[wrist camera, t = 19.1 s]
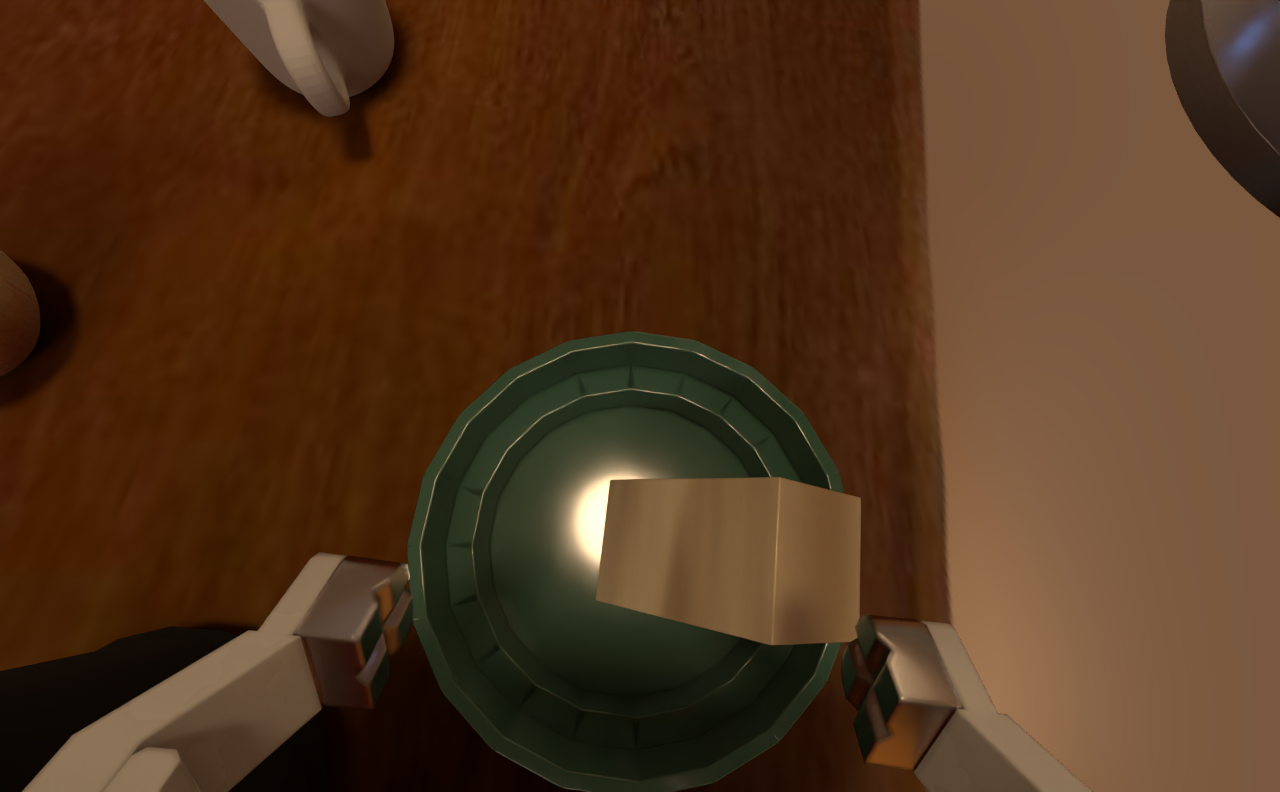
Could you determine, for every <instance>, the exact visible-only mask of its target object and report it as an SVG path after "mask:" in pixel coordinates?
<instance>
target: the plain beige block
mask: <svg viewBox="0 0 1280 792" xmlns="http://www.w3.org/2000/svg"><path fill="white" fill-rule="evenodd" d="M860 534H861V498H859V497H856V496H852V495H848V494H844V493H840V492H836V491H832V490H828V489H824V488H820V487H817V486H813V485H809V484H805V483H801V482H797V481H793V480H789V479H785V478H781V477H755V478H685V479H615V480H610V485H609V493H608V501H607V510H606V518H605V526H604V534H603V543H602V551H601V559H600V567H599V576H598V584H597V592H596V600H597V601H600V602H604V603H608V604H612V605H616V606H619V607H623V608H627V609H631V610H635V611H639V612H643V613H647V614H651V615H655V616H659V617H662V618H666V619H670V620H674V621H678V622H682V623H686V624H690V625H694V626H698V627H702V628H706V629H709V630H713V631H717V632H721V633H725V634H729V635H733V636H737V637H741V638H745V639H749V640H752V641H756V642H760V643H764V644H768V645H792V644H815V643H838V642H851V641H853V640H854V639H856V638H858V637H857V633H856V630H855V626H856V624H857V622H858V620H859V610H860Z"/></svg>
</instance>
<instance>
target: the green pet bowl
mask: <svg viewBox="0 0 1280 792" xmlns="http://www.w3.org/2000/svg"><path fill="white" fill-rule="evenodd" d="M424 475H425V476H423V479H422V484H421V488H420V492H419V496H418V501H417V505H416V509H415V513H414V517H413V522H412V526H411V530H410V534H409V539H408V543H407V546H408V547H407V558H408V570H409V575H410V578H409V585H410V593H411V594H412V596H413V604H414V605H413V617H412V620H413V624H414V627H415V629H416V632H417V634H418V637H419V639H420V641H421V644H422V646H423V649H424V651H425V654H426V656H427V658H428V661H429V663H430V666H431V668H432V671H433V673H434V675H435V678H436V680H437V683H438V685H439V688H440V690H441V691H443V692H442V693H443V695H444V696H445V697H446V698H447V699H448V700H449V701H450V703H451V704H452V705H453V706H454V707H455V708H456V709H457V710H458V712H459V713H460V714H461V715H462V716H463V717H464V718H465V720H466V721H467V722H468V723H469V724H470V725H471V726H472V727H473V729H474V730H475V731H476V732H477V733H478V734H479V735H480V737H481V738H482V739H483V740H484V741H485V742H486V743H487V745H488V746H489V747H490V748H491V749H492V750H493V749H494V751H495V752H496V753H498V754H500V755H502V756H504V757H505V758H507V759H509V760H511V761H513V762H515V763H516V764H518V765H520V766H522V767H524V768H525V769H527V770H529V771H531V772H533V773H535V774H536V775H538V776H540V777H542V778H544V779H545V780H547V781H549V782H551V783H553V784H555V785H556V786H558V787H562V788H563V789H570V790H577V791H583V792H675V791H680V790H684V789H689V788H694V787H698V786H703V785H708V784H712V783H713V782H717V781H718V780H720V779H721V778H723V777H725V776H726V775H728V774H729V773H731V772H732V771H734V770H736V769H737V768H739V767H740V766H742V765H744V764H745V763H747V762H748V761H750V760H752V759H753V758H755V757H756V756H758V755H759V754H761V753H763V752H764V751H766V750H767V749H769V748H771V747H772V746H774V745H775V744H777V743H778V741H780V740H781V739H782V738H783V737H784V735H785V734H786V733H787V732H788V730H789V729H790V728H791V727H792V725H793V724H794V723H795V722H796V720H797V719H798V718H799V717H800V715H801V714H802V713H803V712H804V710H805V709H806V708H807V707H808V705H809V704H810V703H811V702H812V700H813V699H814V698H815V697H816V695H817V694H818V693H819V692H820V690H821V689H822V688H823V687H824V685H825V684H826V682H827V680H828V678H829V675H830V672H831V670H832V667H833V664H834V662H835V659H836V656H837V653H838V651H839V648H840V645H841V643H842V642H838V643H815V644H792V645H768V644H764V643H760V642H756V641H752V640H749V639H745V638H741V637H737V636H733V635H729V634H725V633H721V632H717V631H713V630H709V629H706V628H702V627H698V626H694V625H690V624H686V623H682V622H678V621H674V620H670V619H666V618H662V617H659V616H655V615H651V614H647V613H643V612H639V611H635V610H631V609H627V608H623V607H619V606H616V605H612V604H608V603H604V602H600V601H597V600H596V592H597V584H598V576H599V567H600V559H601V551H602V543H603V534H604V526H605V518H606V510H607V501H608V493H609V485H610V480H615V479H685V478H755V477H781V478H785V479H789V480H793V481H797V482H801V483H805V484H809V485H813V486H817V487H820V488H824V489H828V490H832V491H836V492H840V493H844V490H843V486H842V482H841V478H840V474H839V472H838V469H837V467H836V466H835V464H834V462H833V461H832V459H831V457H830V456H829V454H828V452H827V451H826V449H825V447H824V446H823V444H822V442H821V441H820V439H819V437H818V436H817V434H816V432H815V431H814V429H813V428H812V426H811V424H810V423H809V421H808V419H807V418H806V416H805V414H804V413H803V412H802V411H801V410H800V409H799V408H798V407H797V406H796V405H795V404H793V403H792V402H791V401H790V400H789V399H788V398H787V397H786V396H785V395H784V394H782V393H781V392H780V391H779V390H778V389H777V388H776V387H775V386H774V385H772V384H771V383H770V382H769V381H768V380H767V379H766V378H765V377H764V376H763V375H761V374H760V373H759V372H758V371H757V370H756V369H754V368H753V367H751V366H749V365H747V364H745V363H743V362H740V361H738V360H736V359H734V358H732V357H730V356H728V355H726V354H724V353H721V352H719V351H717V350H715V349H713V348H711V347H709V346H707V345H705V344H702V343H700V342H698V341H695V340H690V339H683V338H676V337H670V336H663V335H656V334H650V333H643V332H636V331H633V332H632V331H629V332H622V333H615V334H609V335H602V336H595V337H589V338H582V339H575V340H570V341H567V342H564V343H562V344H560V345H558V346H556V347H554V348H552V349H550V350H548V351H546V352H544V353H541V354H539V355H537V356H535V357H533V358H531V359H529V360H527V361H525V362H523V363H520V364H518V365H516V366H514V367H512V368H510V370H507V371H506V372H505V373H504V374H503V375H502V376H501V377H500V378H499V379H498V380H496V381H495V382H494V383H493V384H492V385H491V386H490V387H489V388H488V389H487V390H486V391H484V392H483V393H482V394H481V395H480V396H479V397H478V398H477V399H476V400H475V401H474V402H472V403H471V404H470V405H469V406H468V407H467V408H466V409H465V410H464V411H463V412H462V413H460V415H459V416H458V418H457V419H456V421H455V423H454V424H453V426H452V428H451V429H450V431H449V433H448V435H447V436H446V438H445V440H444V441H443V443H442V445H441V446H440V448H439V450H438V452H437V453H436V455H435V457H434V458H433V460H432V462H431V463H430V465H429V467H428V468H427V470H426V472H425V474H424Z"/></svg>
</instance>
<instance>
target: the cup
mask: <svg viewBox="0 0 1280 792" xmlns="http://www.w3.org/2000/svg"><path fill="white" fill-rule="evenodd" d="M204 1H205V2H206V3H207V5H208V6H209V7H210V8H211V9H212V10H213V11H214V12H215V13H216V14H217V15H218V17H219V18H220V19H221V20H222V21H223V22H224V23H225V24H226V25H227V26H228V28H229V29H230V30H231V31H232V32H233V33H234V34H235V35H236V36H237V37H238V38H239V40H240V41H241V42H242V43H243V44H244V45H245V46H246V47H247V48H248V49H249V50H250V52H251V53H252V54H253V55H254V56H255V57H256V58H257V59H258V60H259V61H260V62H261V64H262V65H263V66H264V67H265V68H266V69H267V70H268V71H269V72H270V73H271V74H272V75H274V76H275V77H276V78H277V79H278V80H279V81H281V82H282V83H283V84H285V85H286V86H288V87H289V88H291V89H292V90H294V91H296V92H298V93H300V94H303V95H304V96H305V98H306V99H307V100H308V102H309V103H310V104H311V105H312V106H313V107H314V108H315V109H316V110H317V111H318V112H319V113H321V114H322V115H324V116H328V117H333V116H339V115H342V114H344V113H346V112H347V111H348V110H349V108H350V100H349V97H351V96H354V95H357V94H359V93H361V92H363V91H365V90H367V89H368V88H370V87H371V86H373V85H374V84H375V83H376V82H377V81H378V80H379V79H380V78H381V77H382V76H383V75H384V73H385V72H386V70H387V69H388V67H389V65H390V62H391V60H392V56H393V51H394V33H393V27H392V22H391V18H390V14H389V11H388V8H387V4H386V1H385V0H204Z"/></svg>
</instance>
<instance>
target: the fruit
mask: <svg viewBox="0 0 1280 792" xmlns="http://www.w3.org/2000/svg"><path fill="white" fill-rule="evenodd" d="M39 333H40V311H39V305H38V301H37V298H36V295H35V291H34V289H33V287H32V285H31V283H30V282H29V280H28V278H27V276H26V275H25V274H24V273H23V271H22V270H21V269H20V268H19V267H18V266H17V265H16V264H15V263H14V262H13V261H12V260H11V259H10V258H9V257H8V256H7V255H6V254H5V253H4V252H2V251H1V250H0V377H1V376H3V375H5V374H7V373H8V372H10V371H12V370H14V369H15V368H16V367H18V366H19V365H20V364H21V363H22V362H24V361H25V360H26V358H27V357H28V356H29V354H30V353H31V352H32V351H33V349H34V347H35V345H36V343H37V341H38V337H39Z"/></svg>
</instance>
